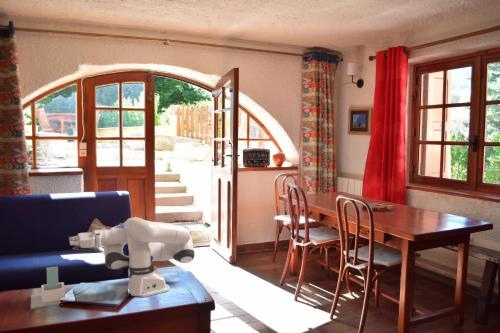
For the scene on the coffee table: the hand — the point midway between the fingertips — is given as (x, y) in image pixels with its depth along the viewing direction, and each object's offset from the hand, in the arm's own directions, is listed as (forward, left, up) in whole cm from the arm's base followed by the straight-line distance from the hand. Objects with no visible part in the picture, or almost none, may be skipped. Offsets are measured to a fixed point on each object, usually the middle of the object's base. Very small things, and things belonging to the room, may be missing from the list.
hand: (69, 241), depth 216 cm
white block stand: (+8, +2, -28) cm, 30 cm away
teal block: (+8, +2, -27) cm, 29 cm away
